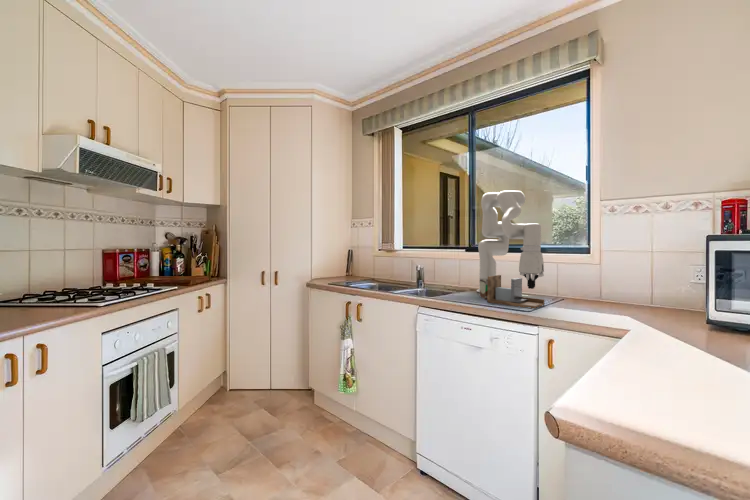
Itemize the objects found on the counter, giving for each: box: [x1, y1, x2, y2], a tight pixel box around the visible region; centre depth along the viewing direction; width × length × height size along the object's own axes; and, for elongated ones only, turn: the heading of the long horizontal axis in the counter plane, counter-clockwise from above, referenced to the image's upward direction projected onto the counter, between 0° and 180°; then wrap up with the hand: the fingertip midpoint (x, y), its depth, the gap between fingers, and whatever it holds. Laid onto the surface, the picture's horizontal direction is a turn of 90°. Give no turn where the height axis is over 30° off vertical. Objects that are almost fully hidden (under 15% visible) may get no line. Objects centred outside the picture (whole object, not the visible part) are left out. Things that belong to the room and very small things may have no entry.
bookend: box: [510, 277, 528, 303], centre depth 170 cm, size 9×5×11 cm, turn 134°
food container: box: [479, 277, 488, 300], centre depth 189 cm, size 12×6×10 cm, turn 179°
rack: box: [486, 274, 545, 309], centre depth 171 cm, size 12×23×13 cm, turn 44°
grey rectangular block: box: [496, 286, 511, 302], centre depth 175 cm, size 4×9×6 cm, turn 44°
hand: (531, 288), depth 166 cm, fingers closed
